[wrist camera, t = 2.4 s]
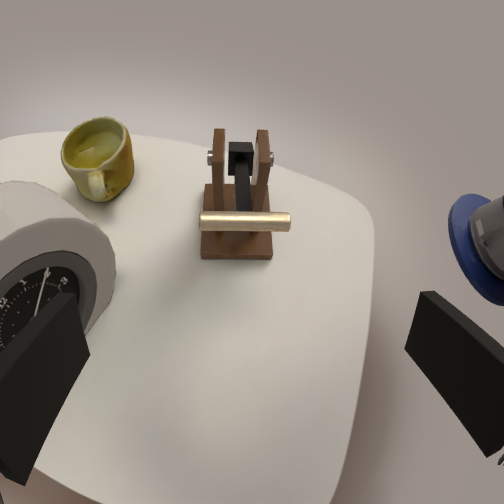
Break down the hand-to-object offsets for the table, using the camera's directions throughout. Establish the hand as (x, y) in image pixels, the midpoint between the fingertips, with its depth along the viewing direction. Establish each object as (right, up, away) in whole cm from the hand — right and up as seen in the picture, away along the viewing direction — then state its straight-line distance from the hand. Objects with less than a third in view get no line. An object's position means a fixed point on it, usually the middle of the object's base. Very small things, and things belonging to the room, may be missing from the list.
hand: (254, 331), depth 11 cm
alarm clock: (-22, -6, +19) cm, 30 cm away
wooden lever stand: (-2, +6, +27) cm, 28 cm away
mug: (-20, +11, +28) cm, 36 cm away
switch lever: (-1, +7, +14) cm, 16 cm away
